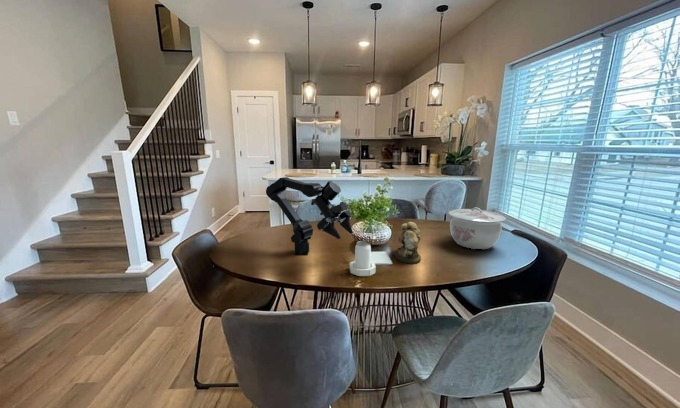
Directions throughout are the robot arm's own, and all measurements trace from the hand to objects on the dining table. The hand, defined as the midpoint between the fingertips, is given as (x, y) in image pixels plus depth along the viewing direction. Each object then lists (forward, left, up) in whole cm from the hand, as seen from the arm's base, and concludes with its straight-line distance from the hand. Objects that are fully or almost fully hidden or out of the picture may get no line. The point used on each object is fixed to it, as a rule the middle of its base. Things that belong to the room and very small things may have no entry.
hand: (345, 235), depth 122 cm
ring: (+7, -5, -13) cm, 16 cm away
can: (+7, -5, -14) cm, 16 cm away
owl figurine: (+30, +10, -14) cm, 34 cm away
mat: (+14, +8, -13) cm, 21 cm away
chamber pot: (+70, +25, -14) cm, 75 cm away
